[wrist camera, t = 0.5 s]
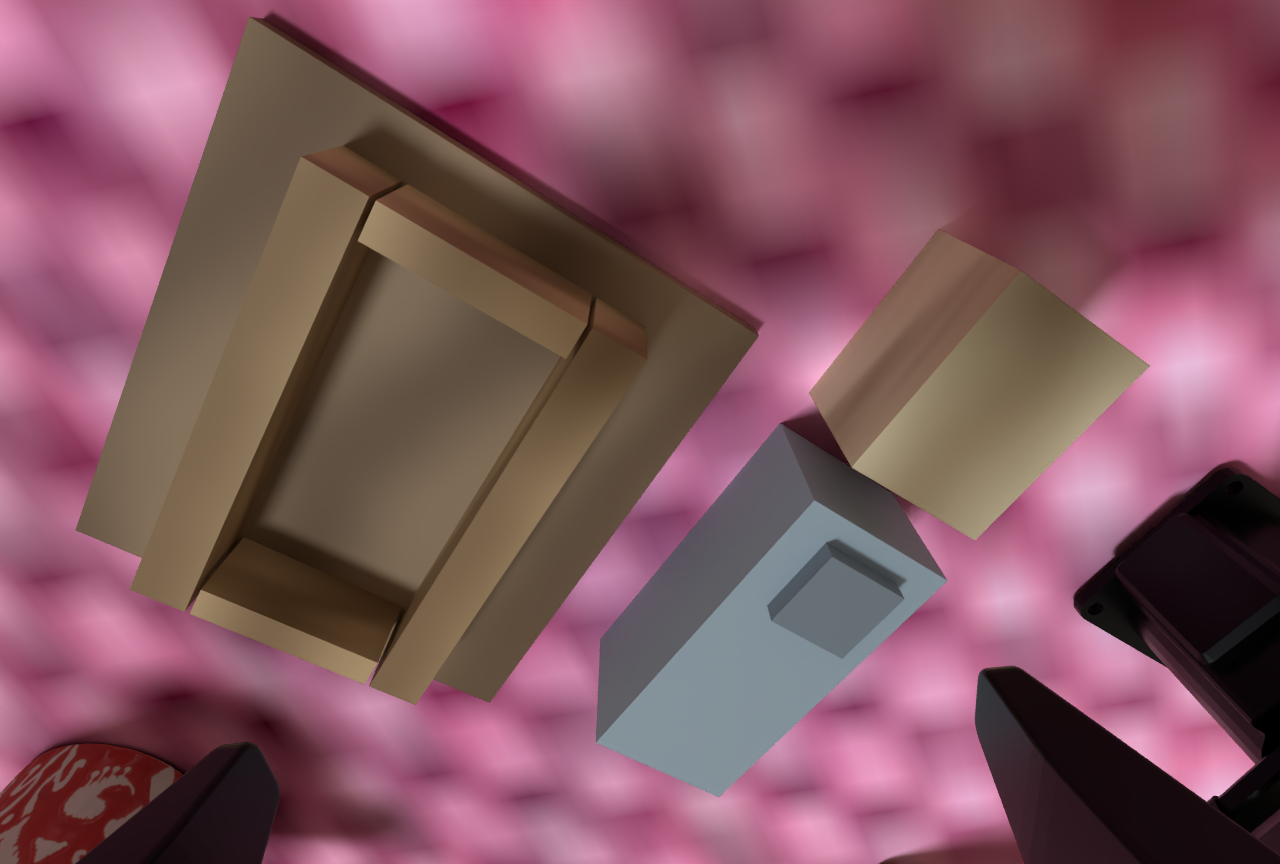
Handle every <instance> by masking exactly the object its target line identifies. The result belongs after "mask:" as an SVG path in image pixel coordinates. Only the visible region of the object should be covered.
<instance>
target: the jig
mask: <svg viewBox="0 0 1280 864" xmlns="http://www.w3.org/2000/svg"><path fill="white" fill-rule="evenodd" d="M758 336H759V335H758V333H757V331H756V329H755V328H753V327H752V326H750V325H748V324H747V323H745V322H744V321H742V320H740V319H739V318H737V317H736V316H734V315H733V314H731V313H729V312H728V311H726V310H725V309H723V308H721V307H720V306H718V305H717V304H715V303H713V302H712V301H710V300H709V299H707V298H705V297H704V296H702V295H701V294H699V293H697V292H696V291H694V290H693V289H691V288H690V287H688V286H686V285H685V284H683V283H682V282H680V281H678V280H677V279H675V278H674V277H672V276H670V275H669V274H667V273H666V272H664V271H662V270H661V269H659V268H658V267H656V266H655V265H653V264H651V263H650V262H648V261H647V260H645V259H643V258H642V257H640V256H639V255H637V254H635V253H634V252H632V251H631V250H629V249H627V248H626V247H624V246H623V245H621V244H620V243H618V242H616V241H615V240H613V239H612V238H610V237H608V236H607V235H605V234H604V233H602V232H600V231H599V230H597V229H596V228H594V227H592V226H591V225H589V224H588V223H586V222H585V221H583V220H581V219H580V218H578V217H577V216H575V215H573V214H572V213H570V212H569V211H567V210H565V209H564V208H562V207H561V206H559V205H557V204H556V203H554V202H553V201H551V200H550V199H548V198H546V197H545V196H543V195H542V194H540V193H538V192H537V191H535V190H534V189H532V188H530V187H529V186H527V185H526V184H524V183H522V182H521V181H519V180H518V179H516V178H514V177H513V176H511V175H510V174H508V173H507V172H505V171H503V170H502V169H500V168H499V167H497V166H495V165H494V164H492V163H491V162H489V161H487V160H486V159H484V158H483V157H481V156H479V155H478V154H476V153H475V152H473V151H472V150H470V149H468V148H467V147H465V146H464V145H462V144H460V143H459V142H457V141H456V140H454V139H452V138H451V137H449V136H448V135H446V134H444V133H443V132H441V131H440V130H438V129H437V128H435V127H433V126H432V125H430V124H429V123H427V122H425V121H424V120H422V119H421V118H419V117H417V116H416V115H414V114H413V113H411V112H409V111H408V110H406V109H405V108H403V107H402V106H400V105H398V104H397V103H395V102H394V101H392V100H390V99H389V98H387V97H386V96H384V95H382V94H381V93H379V92H378V91H376V90H374V89H373V88H371V87H370V86H368V85H367V84H365V83H363V82H362V81H360V80H359V79H357V78H355V77H354V76H352V75H351V74H349V73H347V72H346V71H344V70H343V69H341V68H339V67H338V66H336V65H335V64H333V63H332V62H330V61H328V60H327V59H325V58H324V57H322V56H320V55H319V54H317V53H316V52H314V51H312V50H311V49H309V48H308V47H306V46H304V45H303V44H301V43H300V42H298V41H297V40H295V39H293V38H292V37H290V36H289V35H287V34H285V33H284V32H282V31H281V30H279V29H277V28H276V27H274V26H273V25H271V24H269V23H268V22H266V21H265V20H263V19H261V18H254V17H249V19H248V22H247V25H246V28H245V31H244V34H243V37H242V40H241V43H240V46H239V49H238V52H237V55H236V58H235V61H234V64H233V67H232V70H231V73H230V75H229V78H228V81H227V84H226V87H225V90H224V93H223V96H222V99H221V102H220V105H219V108H218V111H217V114H216V117H215V120H214V123H213V126H212V129H211V132H210V135H209V138H208V140H207V143H206V146H205V149H204V152H203V155H202V158H201V161H200V164H199V167H198V170H197V173H196V176H195V179H194V182H193V185H192V188H191V191H190V194H189V197H188V200H187V203H186V205H185V208H184V211H183V214H182V217H181V220H180V223H179V226H178V229H177V232H176V235H175V238H174V241H173V244H172V247H171V250H170V253H169V256H168V259H167V262H166V265H165V268H164V270H163V273H162V276H161V279H160V282H159V285H158V288H157V291H156V294H155V297H154V300H153V303H152V306H151V309H150V312H149V315H148V318H147V321H146V324H145V327H144V330H143V333H142V335H141V338H140V341H139V344H138V347H137V350H136V353H135V356H134V359H133V362H132V365H131V368H130V371H129V374H128V377H127V380H126V383H125V386H124V389H123V392H122V395H121V398H120V400H119V403H118V406H117V409H116V412H115V415H114V418H113V421H112V424H111V427H110V430H109V433H108V436H107V439H106V442H105V445H104V448H103V451H102V454H101V457H100V460H99V463H98V465H97V468H96V471H95V474H94V477H93V480H92V483H91V486H90V489H89V492H88V495H87V498H86V501H85V504H84V507H83V510H82V513H81V516H80V519H79V522H78V525H77V528H76V531H79V532H81V533H83V534H86V535H88V536H91V537H93V538H95V539H98V540H100V541H103V542H105V543H107V544H110V545H112V546H115V547H117V548H119V549H122V550H124V551H127V552H129V553H131V554H134V555H136V556H139V557H141V558H142V560H141V562H140V565H139V567H138V570H137V573H136V575H135V578H134V580H133V583H132V585H131V588H130V590H132V591H135V592H137V593H140V594H142V595H145V596H147V597H150V598H152V599H155V600H157V601H159V602H162V603H164V604H167V605H169V606H172V607H174V608H177V609H179V610H182V611H184V612H185V611H186V609H187V608H188V607H189V606H190V604H191V603H192V602H193V601H194V600H195V598H196V597H197V596H198V597H197V599H196V602H195V604H194V606H193V608H192V610H191V613H190V614H192V615H194V616H197V617H199V618H202V619H204V620H206V621H209V622H211V623H214V624H216V625H219V626H221V627H224V628H226V629H229V630H231V631H234V632H236V633H239V634H241V635H244V636H246V637H249V638H251V639H254V640H256V641H258V642H261V643H263V644H266V645H268V646H271V647H273V648H276V649H278V650H281V651H283V652H286V653H288V654H291V655H293V656H296V657H298V658H301V659H303V660H306V661H308V662H310V663H313V664H315V665H318V666H320V667H323V668H325V669H328V670H330V671H333V672H335V673H338V674H340V675H343V676H345V677H348V678H350V679H353V680H355V681H357V682H360V683H362V684H365V683H366V681H367V679H368V678H369V676H370V675H371V673H372V671H373V670H374V668H375V666H376V665H377V663H378V661H379V659H380V657H381V659H380V661H379V664H378V666H377V669H376V671H375V673H374V676H373V678H372V681H371V683H370V685H369V686H370V687H372V688H375V689H377V690H380V691H382V692H385V693H387V694H390V695H392V696H395V697H397V698H400V699H402V700H405V701H407V702H409V703H412V704H414V705H416V703H417V702H418V700H419V699H420V697H421V696H422V694H423V693H424V691H425V690H426V688H427V687H428V685H429V684H430V682H431V681H432V680H433V679H434V680H436V681H439V682H441V683H444V684H446V685H448V686H451V687H453V688H456V689H458V690H460V691H463V692H465V693H468V694H470V695H472V696H475V697H477V698H480V699H482V700H484V701H487V702H489V703H490V701H491V700H492V699H493V697H494V696H495V695H496V693H497V692H498V690H499V689H500V688H501V686H502V685H503V684H504V682H505V681H506V680H507V678H508V677H509V675H510V674H511V673H512V671H513V670H514V669H515V667H516V666H517V665H518V663H519V662H520V660H521V659H522V658H523V656H524V655H525V654H526V652H527V651H528V650H529V648H530V647H531V645H532V644H533V643H534V641H535V640H536V639H537V637H538V636H539V635H540V633H541V632H542V630H543V629H544V628H545V626H546V625H547V624H548V622H549V621H550V620H551V618H552V617H553V615H554V614H555V613H556V611H557V610H558V609H559V607H560V606H561V605H562V603H563V602H564V600H565V599H566V598H567V596H568V595H569V594H570V592H571V591H572V590H573V588H574V587H575V586H576V584H577V583H578V581H579V580H580V579H581V577H582V576H583V575H584V573H585V572H586V571H587V569H588V568H589V566H590V565H591V564H592V562H593V561H594V560H595V558H596V557H597V556H598V554H599V553H600V551H601V550H602V549H603V547H604V546H605V545H606V543H607V542H608V541H609V539H610V538H611V536H612V535H613V534H614V532H615V531H616V530H617V528H618V527H619V526H620V524H621V523H622V521H623V520H624V519H625V517H626V516H627V515H628V513H629V512H630V511H631V509H632V508H633V506H634V505H635V504H636V502H637V501H638V500H639V498H640V497H641V496H642V494H643V493H644V492H645V490H646V489H647V487H648V486H649V485H650V483H651V482H652V481H653V479H654V478H655V477H656V475H657V474H658V472H659V471H660V470H661V468H662V467H663V466H664V464H665V463H666V462H667V460H668V459H669V457H670V456H671V455H672V453H673V452H674V451H675V449H676V448H677V447H678V445H679V444H680V442H681V441H682V440H683V438H684V437H685V436H686V434H687V433H688V432H689V430H690V429H691V427H692V426H693V425H694V423H695V422H696V421H697V419H698V418H699V417H700V415H701V414H702V412H703V411H704V410H705V408H706V407H707V406H708V404H709V403H710V402H711V400H712V399H713V397H714V396H715V395H716V393H717V392H718V391H719V389H720V388H721V387H722V385H723V384H724V383H725V381H726V380H727V378H728V377H729V376H730V374H731V373H732V372H733V370H734V369H735V368H736V366H737V365H738V363H739V362H740V361H741V359H742V358H743V357H744V355H745V354H746V353H747V351H748V350H749V348H750V347H751V346H752V344H753V343H754V342H755V340H756V339H757V338H758Z"/></svg>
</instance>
